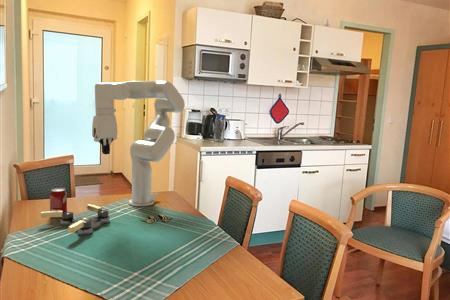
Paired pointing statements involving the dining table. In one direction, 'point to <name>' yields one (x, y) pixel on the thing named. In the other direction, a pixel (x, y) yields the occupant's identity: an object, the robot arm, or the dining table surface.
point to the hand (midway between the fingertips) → (106, 153)
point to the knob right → (57, 215)
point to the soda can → (58, 200)
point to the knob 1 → (80, 226)
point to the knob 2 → (98, 211)
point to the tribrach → (95, 223)
